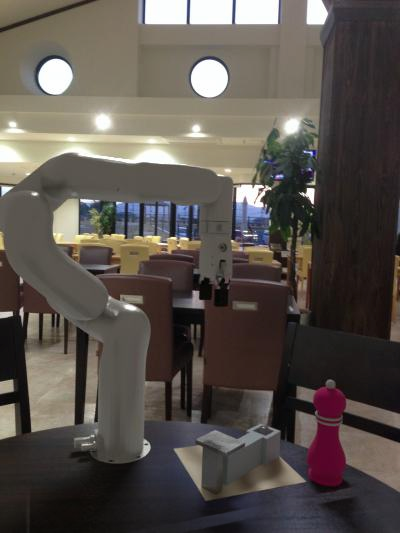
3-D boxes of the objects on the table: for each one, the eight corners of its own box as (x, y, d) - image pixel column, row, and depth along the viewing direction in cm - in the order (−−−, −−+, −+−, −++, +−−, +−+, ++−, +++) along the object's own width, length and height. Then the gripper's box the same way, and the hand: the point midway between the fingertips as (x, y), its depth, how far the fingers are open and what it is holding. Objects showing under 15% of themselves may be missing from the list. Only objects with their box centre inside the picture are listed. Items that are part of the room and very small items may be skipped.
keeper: (213, 477, 85) (215, 430, 85) (242, 492, 81) (245, 442, 80) (193, 489, 81) (195, 439, 80) (223, 506, 76) (226, 453, 76)
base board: (205, 507, 76) (205, 500, 76) (173, 454, 94) (173, 448, 94) (306, 487, 83) (306, 481, 83) (258, 441, 101) (258, 436, 101)
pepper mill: (347, 496, 81) (353, 388, 79) (306, 490, 82) (311, 384, 81) (342, 475, 88) (348, 375, 86) (304, 470, 89) (310, 372, 88)
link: (231, 488, 80) (232, 458, 79) (210, 477, 83) (211, 448, 83) (279, 456, 92) (280, 431, 91) (259, 448, 95) (260, 423, 95)
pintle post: (260, 465, 90) (262, 429, 90) (256, 461, 92) (258, 426, 91) (268, 464, 91) (270, 428, 90) (264, 460, 93) (265, 425, 92)
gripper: (246, 230, 96) (243, 309, 98) (216, 230, 112) (213, 297, 114) (214, 229, 94) (211, 310, 95) (188, 229, 110) (185, 298, 111)
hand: (212, 303), depth 104 cm, fingers open, 9 cm apart
